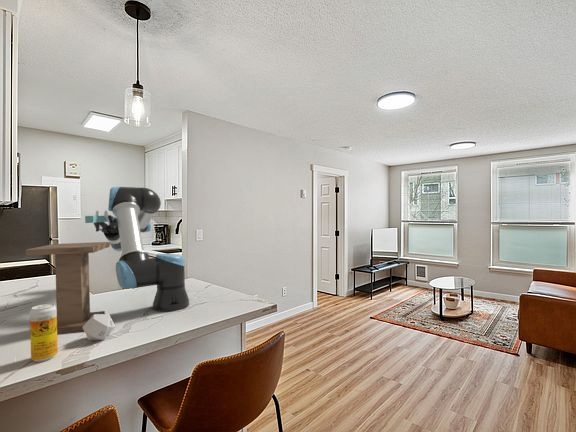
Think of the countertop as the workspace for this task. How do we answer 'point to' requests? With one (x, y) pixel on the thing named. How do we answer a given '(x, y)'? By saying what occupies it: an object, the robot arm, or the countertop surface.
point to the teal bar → (95, 219)
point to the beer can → (43, 332)
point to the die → (98, 327)
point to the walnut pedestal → (71, 282)
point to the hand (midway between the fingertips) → (101, 213)
